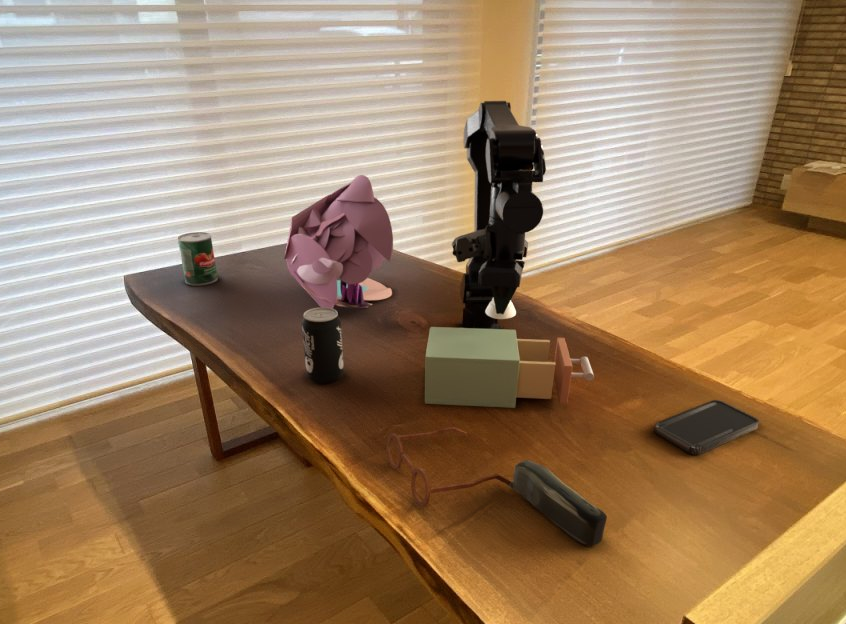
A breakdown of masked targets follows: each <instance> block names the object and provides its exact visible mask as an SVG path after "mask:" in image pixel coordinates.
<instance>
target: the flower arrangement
mask: <svg viewBox="0 0 846 624" xmlns="http://www.w3.org/2000/svg"><path fill="white" fill-rule="evenodd" d="M289 225H290V226H289V230H288V235H287V242H286V245H285V252H284V260H285V261H286V265H287V269H288V273H289V274H290V275H291V276H292V277H293V278H294V279H295V280H296V282H297V283H298V284H299V285H300V286H301V287H302V289H304V291H305V292H306V293H307V294H308V295H309V296H310V297H311V298H312V300H314V302H315V303H316V304H317V305H318V306H319V307H327V308H332V309H334V307H335V306H338V307H344V308H350V309H352V308H353V309H364V308H365V309H366V308H368V309H369V307H371V306H372V305H373V303H369V302H368V301H380V300H385V299H388V298H390V297H391V296H392V295H393V291H392V289H391V287H386V285H384V284H382V283H380V282H378V281H377V280H374V279H372V278H370V277H369V276H370V274H371V273H372V269H378V268H380V267H381V266H382V265H383V262H384V259H386V260H387V262H389V263H391V260H392V257H393V252H394V234H393V228H392V222H391V220H390V217H389V214H388V210H387V209H386V207H385V206H384V205H383V203H382V202H381V201H380V200H379V199H378V198H377V197H375V196H374V190H373V186H372V183H371V180H370V178H369V177H368V176H366V175H364V174H360V175H357V176H356V177H354V179H352V180H351V181H350V182H349V183H346V184H345V185H343V186H341V187H340V188H338V189H337V190H335V191H333V192H332V193H330V194H328V195H325V196H324V197H322V198H321V199H319V200H317V201H315V202H314V203H313V204H311V205H308V207H306V208H305V209H303V210H301V211H300V212H298V213H297V214H295V215H293V216H292V217H291V220H290V224H289Z"/></svg>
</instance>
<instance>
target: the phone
mask: <svg viewBox="0 0 846 624" xmlns="http://www.w3.org/2000/svg"><path fill="white" fill-rule="evenodd" d="M759 423H760V420H759V419H758V418H757V417H755V416H753V415H751V414H749V413H748V412H745V411H743V410H741V409H739V408H737V407H735V406H734V405H731V404H729V403H728V402H725V401H723V400H720V399H712V400H710V401H708V402H704V403H702V404H700V405H697V406H694V407H692V408H689V409H687V410H684V411H682V412H679V413H677V414H674V415H672V416H669V417H667V418H664V419H662V420H659V421H656V423H655V424H654V428H653V432H654V433H655V434H656V435H657V436H659V437H660V438H663V440H666V441H667V442H669V443H671V444H672V445H674V446H676V447H678V448H679V449H681V450H683V451H684V452H686V453H688V454H690V455H693V456H700V455H702V454H705V453H706V452H708V451H711V450H713V449H715V448H718V447H720V446H722V445H724V444H726V443H729V442H731V441H733V440H735V439H738V438H741V437H743V436H745V435H747V434H749V433H751V432H753V431H755V430H757V429H758V426H759Z"/></svg>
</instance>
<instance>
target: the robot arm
mask: <svg viewBox="0 0 846 624" xmlns="http://www.w3.org/2000/svg"><path fill="white" fill-rule="evenodd" d="M511 107H512V106H511V102H510V101H508V102H507V100H483V102H480V104H479V107H478V109H477V110H476V111H474V112H473V113H472V114H471V115H469V116H468V117H467V118H466V120H465V125H464V128H463V138H462V139H463V140H462V141H463V143H462V144H463V149H466V160H467V162H468V164H469V165H470V167H471V168H472V170H473V172H474V219H473V220H474V222H473V223H474V225H473V226H474V227H473V228H474V231H472V232H467V233H465V234H461V235H459V236H457V237H454V239H453V240H452V242H451V246H452V252H451V253H452V255H453V256H455V258H456V259H455V260H456V262H457V263H463V262H466V260H468V261H467V262H466V265H465V273H464V272H463V273H462V278H461V281H460V286H459V288H460V289H459V290H460V292H459V293H460V294H459V295H460V296H459V297H460V298H461V303H462V304H464V306H463V307H462V321H459V326H461V328H477V329H503V326H502V325H501V324H499V323H498V322H499V319H495V318H492V317H490V316H488V315H487V314H486V312H485V310H486V308H487V307H488V305H489V303H490V302H491V301H492V298H493V297H494V303H495V308H496V313H497V314H504V312H505V310H506V308H507V306H508V304H509V302H510V300H511V301H512V299H513V297H514V296H515V293H516V291H517V289H518V288H520V286H521V281H522V275H523V270H524V268H525V264H526V262H525V260H523V258H527V257H528V247H529V242H528V241H527V240H526V233H530V232H531V231H533V230H534V229H535V228H537V227H538V226H539V224H540V223H541V221H542V219H543V217H544V216H543V215H544V206H543V203H542V201H541V199H540V197H538V196H537V195H536V193H534V192H533V183H543V182H544V176H545V174H546V171H547V167H546V158H545V151H544V146H543V145H542V139H541V138H540V137H538V133H537V132H536V130H535V129H534V128H532V127H530V126H525V125H520V124H519V123H518V120H517V119H516V117H515V115H514V114H513V112H512V108H511Z"/></svg>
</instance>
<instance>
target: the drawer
mask: <svg viewBox="0 0 846 624" xmlns="http://www.w3.org/2000/svg"><path fill="white" fill-rule="evenodd" d="M517 345H518V352H519V360H520V362H519V373H518V383H517V394H516V398H522V399H540V400H541V399H544V400H547V399H548V400H552V396H553V395H552V394H553V387H554V383H555V388H556V392H557V396H558V401H559V404H568V402H569V401H568V400H569V394H570V387H571V381H572V378H582V379H585V380H586V381H587V382H589V381H590V382H591V381H593V380H594V378H595V375H594V371H593V368H592V366H591V362H590V361H589V357H588V356H585V355H584V356H581V357H580V358H571V357H570V353H569V349H568V345H567V342H566V339H565V337H557V338H556V344H555V352H554V360H553V361H549V354H550V346H551V340H550V339H534V338H533V339H532V338H531V339H530V338H528V339H527V338H517ZM573 364H580V366H581V370H582V372H573Z"/></svg>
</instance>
